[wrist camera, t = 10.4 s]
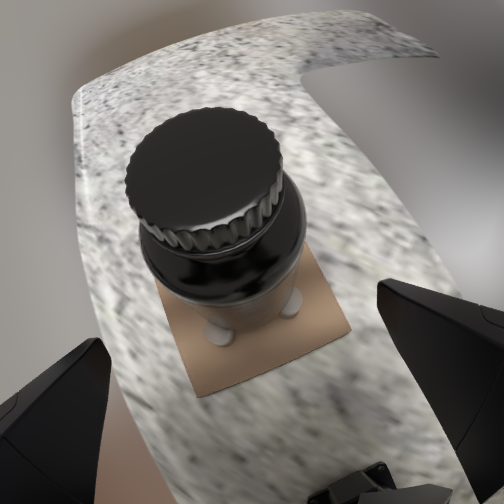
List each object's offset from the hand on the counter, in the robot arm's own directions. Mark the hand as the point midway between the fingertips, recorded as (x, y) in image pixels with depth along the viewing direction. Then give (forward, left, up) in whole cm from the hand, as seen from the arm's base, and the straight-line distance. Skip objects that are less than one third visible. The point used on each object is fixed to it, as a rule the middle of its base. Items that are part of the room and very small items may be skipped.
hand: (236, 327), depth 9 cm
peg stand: (+5, -1, -14) cm, 14 cm away
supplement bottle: (+4, -1, -10) cm, 11 cm away
